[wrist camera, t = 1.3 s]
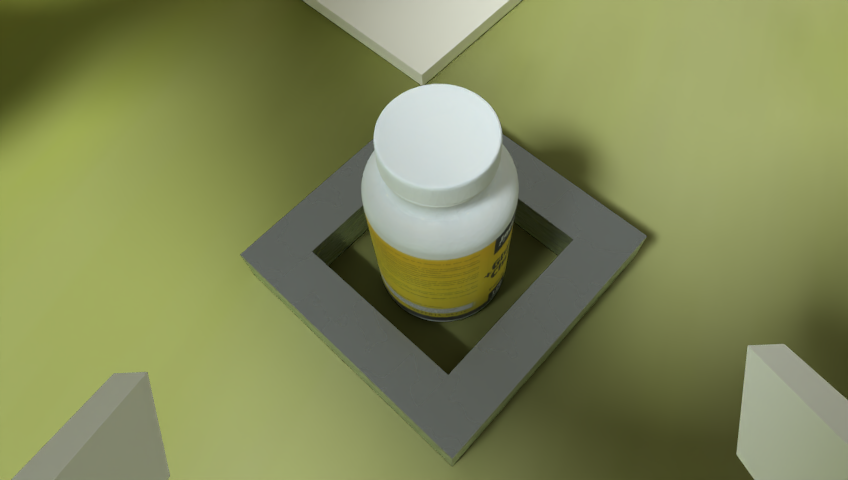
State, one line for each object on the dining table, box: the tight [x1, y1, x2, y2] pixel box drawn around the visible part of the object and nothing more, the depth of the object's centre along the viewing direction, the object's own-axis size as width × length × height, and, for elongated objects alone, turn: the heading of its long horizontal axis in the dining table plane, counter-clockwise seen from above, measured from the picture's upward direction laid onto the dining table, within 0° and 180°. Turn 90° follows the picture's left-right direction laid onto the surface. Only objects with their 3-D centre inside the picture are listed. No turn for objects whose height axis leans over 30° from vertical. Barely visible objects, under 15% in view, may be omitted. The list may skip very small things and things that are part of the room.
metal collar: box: [240, 134, 647, 466], centre depth 32 cm, size 14×14×2 cm
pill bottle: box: [361, 84, 519, 322], centre depth 28 cm, size 6×6×12 cm
